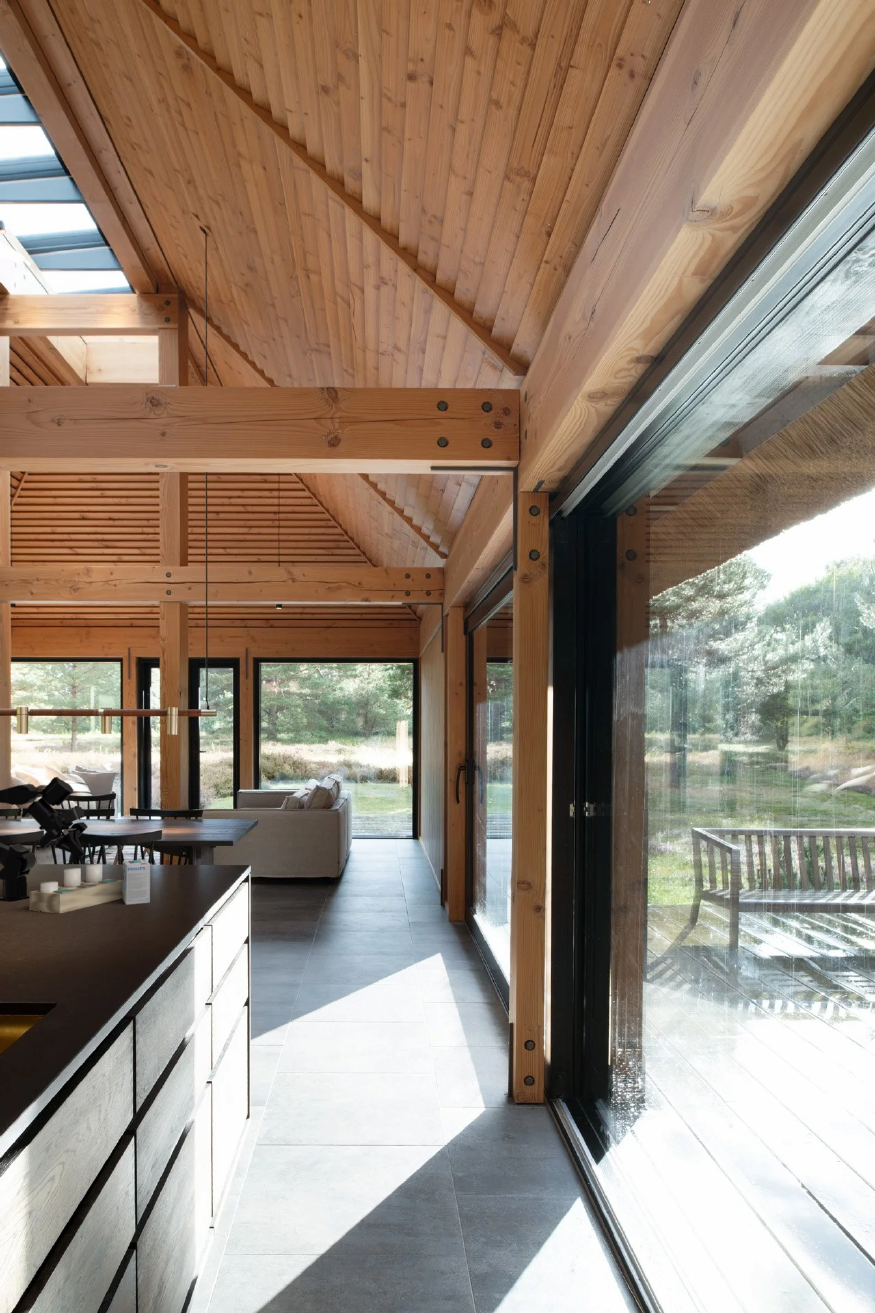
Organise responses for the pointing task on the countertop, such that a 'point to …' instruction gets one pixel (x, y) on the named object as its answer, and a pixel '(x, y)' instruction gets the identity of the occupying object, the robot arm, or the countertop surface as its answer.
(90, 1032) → the countertop surface
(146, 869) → the light bulb box
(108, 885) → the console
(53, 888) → the button
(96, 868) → the button
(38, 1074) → the countertop surface
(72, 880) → the button
